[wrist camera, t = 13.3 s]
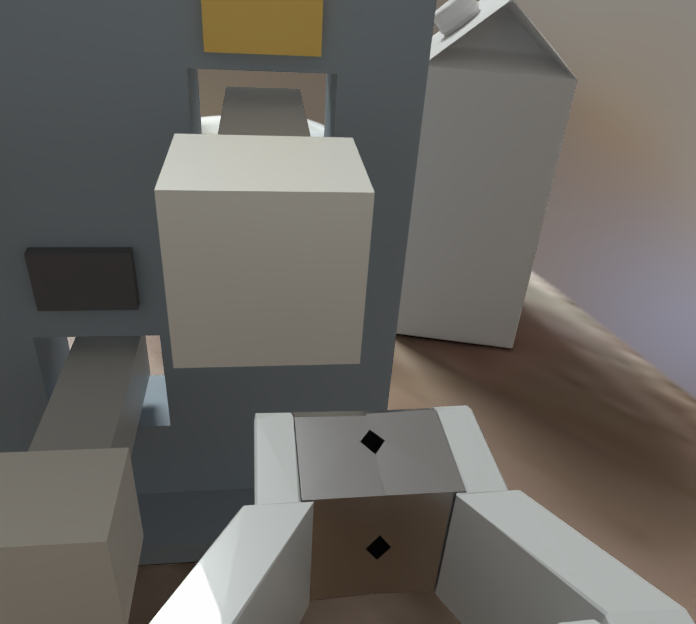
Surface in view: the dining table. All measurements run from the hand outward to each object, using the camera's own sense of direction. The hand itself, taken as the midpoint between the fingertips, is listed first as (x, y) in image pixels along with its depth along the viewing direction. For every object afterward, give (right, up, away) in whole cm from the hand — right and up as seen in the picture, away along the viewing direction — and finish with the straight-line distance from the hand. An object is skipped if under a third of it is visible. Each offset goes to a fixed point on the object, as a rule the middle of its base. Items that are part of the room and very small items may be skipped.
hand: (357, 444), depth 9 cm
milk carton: (+6, +2, +31) cm, 32 cm away
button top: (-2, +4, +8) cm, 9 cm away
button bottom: (-8, -4, +11) cm, 15 cm away
